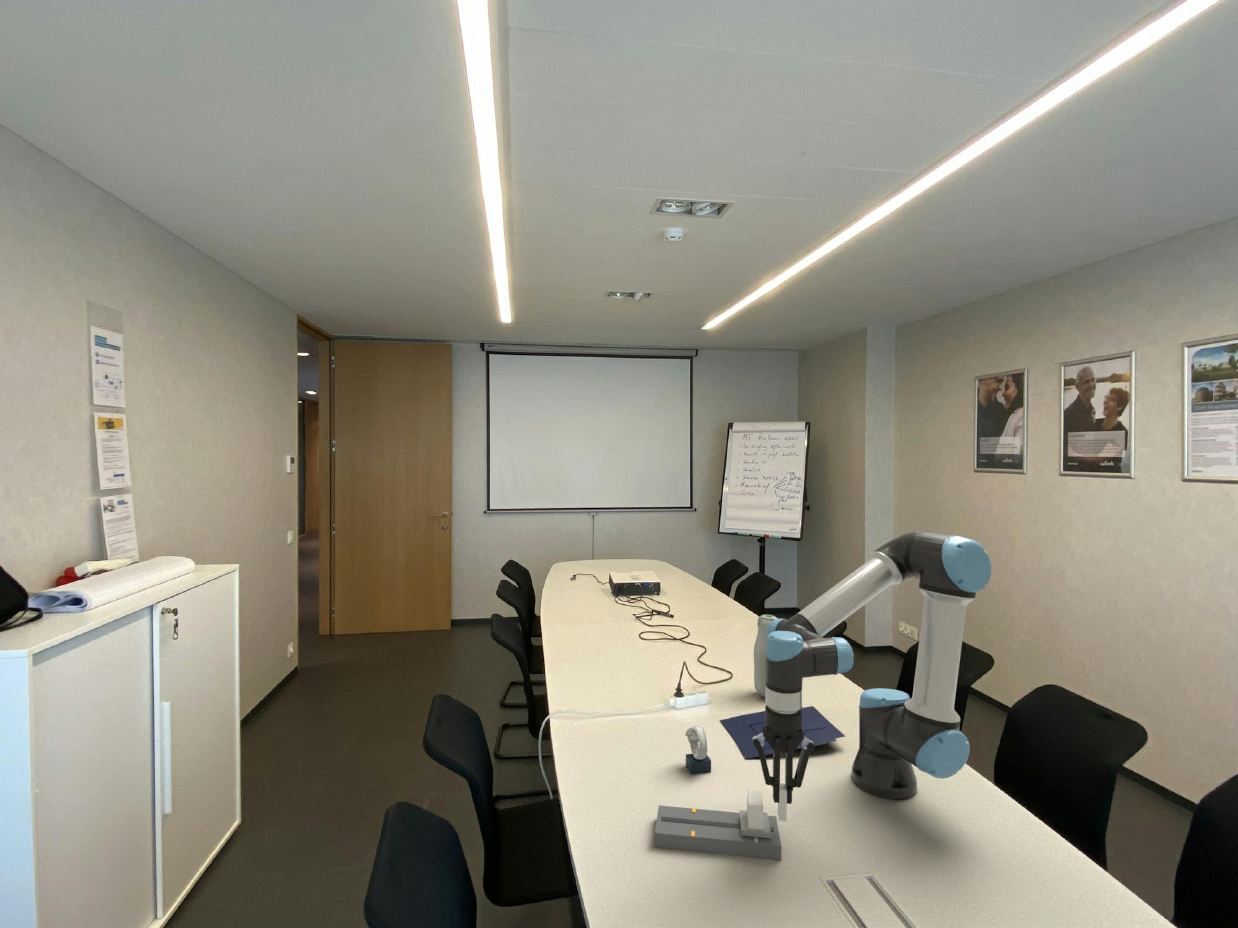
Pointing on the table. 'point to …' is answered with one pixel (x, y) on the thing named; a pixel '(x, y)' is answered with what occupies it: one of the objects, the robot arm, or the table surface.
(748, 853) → the console
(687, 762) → the watch
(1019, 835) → the table surface
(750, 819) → the fader tab
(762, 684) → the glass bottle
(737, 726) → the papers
